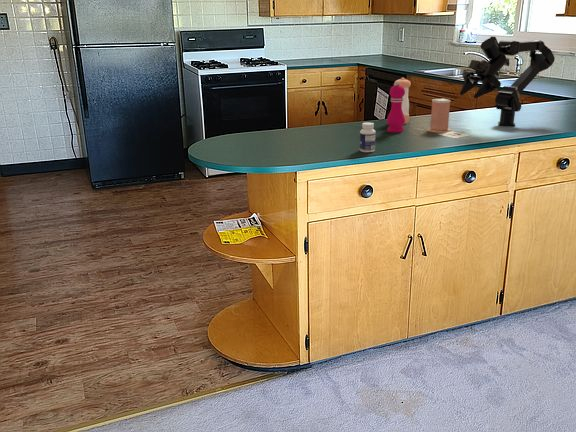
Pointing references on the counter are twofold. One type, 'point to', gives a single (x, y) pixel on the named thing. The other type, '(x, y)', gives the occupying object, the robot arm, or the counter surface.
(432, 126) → the tea tin
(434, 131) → the cork coaster
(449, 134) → the tile
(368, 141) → the pill bottle
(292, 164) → the counter surface
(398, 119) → the pepper mill
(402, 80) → the salt shaker
